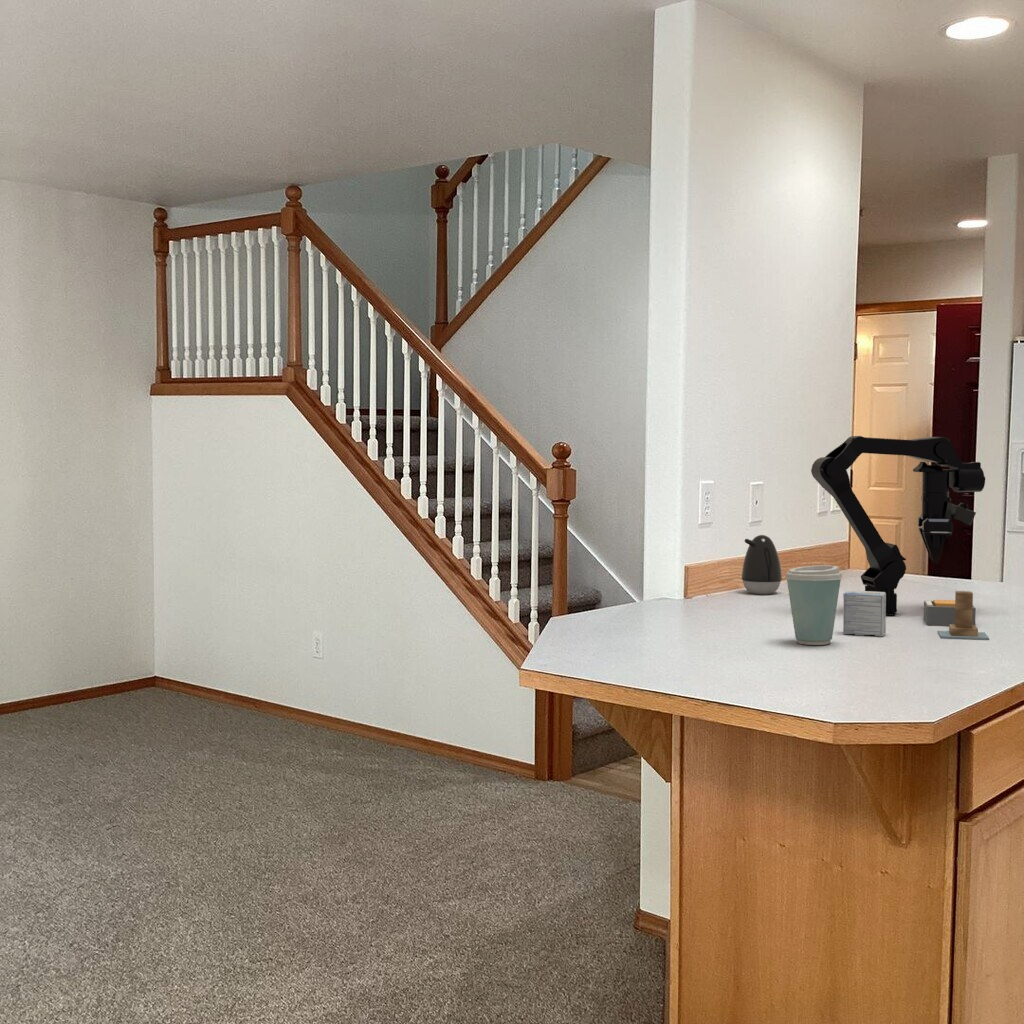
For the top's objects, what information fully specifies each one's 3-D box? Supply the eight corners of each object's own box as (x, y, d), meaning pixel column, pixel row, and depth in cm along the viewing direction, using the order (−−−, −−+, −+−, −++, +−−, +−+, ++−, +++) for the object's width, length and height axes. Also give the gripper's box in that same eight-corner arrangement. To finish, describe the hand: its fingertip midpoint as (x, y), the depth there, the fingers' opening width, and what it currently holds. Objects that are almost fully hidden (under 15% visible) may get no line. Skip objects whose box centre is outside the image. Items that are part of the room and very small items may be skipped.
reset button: (935, 619, 250) (935, 603, 250) (933, 615, 256) (933, 599, 256) (965, 620, 249) (965, 604, 248) (962, 615, 254) (962, 600, 254)
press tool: (951, 635, 233) (951, 593, 233) (949, 631, 238) (949, 590, 237) (977, 636, 232) (978, 594, 231) (975, 632, 237) (976, 591, 236)
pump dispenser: (732, 592, 305) (733, 534, 304) (765, 590, 310) (765, 532, 309) (756, 596, 296) (757, 537, 295) (789, 594, 300) (790, 535, 300)
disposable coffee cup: (802, 648, 221) (802, 570, 221) (774, 639, 232) (775, 564, 231) (851, 646, 224) (852, 568, 223) (822, 637, 235) (823, 562, 234)
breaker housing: (927, 625, 249) (927, 605, 249) (923, 618, 258) (923, 599, 258) (975, 626, 247) (975, 607, 246) (969, 620, 256) (970, 601, 256)
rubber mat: (940, 638, 233) (940, 636, 233) (937, 632, 239) (937, 630, 239) (989, 640, 230) (989, 637, 230) (984, 634, 237) (984, 632, 237)
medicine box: (886, 634, 238) (886, 591, 238) (883, 637, 234) (883, 594, 234) (846, 631, 242) (846, 590, 241) (842, 634, 238) (843, 592, 237)
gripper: (978, 494, 254) (977, 565, 255) (968, 490, 272) (967, 557, 273) (924, 493, 257) (923, 564, 258) (918, 490, 275) (917, 556, 275)
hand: (934, 560), depth 266 cm, fingers open, 9 cm apart
